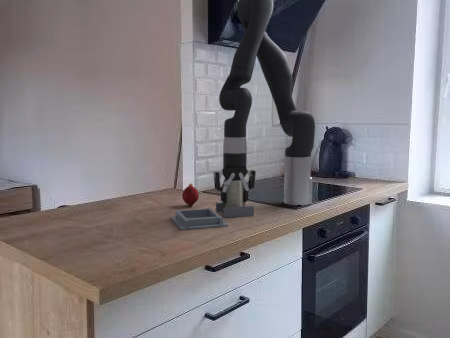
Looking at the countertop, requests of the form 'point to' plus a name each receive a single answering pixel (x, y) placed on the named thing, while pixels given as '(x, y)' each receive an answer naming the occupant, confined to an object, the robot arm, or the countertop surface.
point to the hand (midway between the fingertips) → (234, 202)
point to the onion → (190, 195)
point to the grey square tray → (197, 219)
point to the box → (235, 194)
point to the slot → (234, 210)
